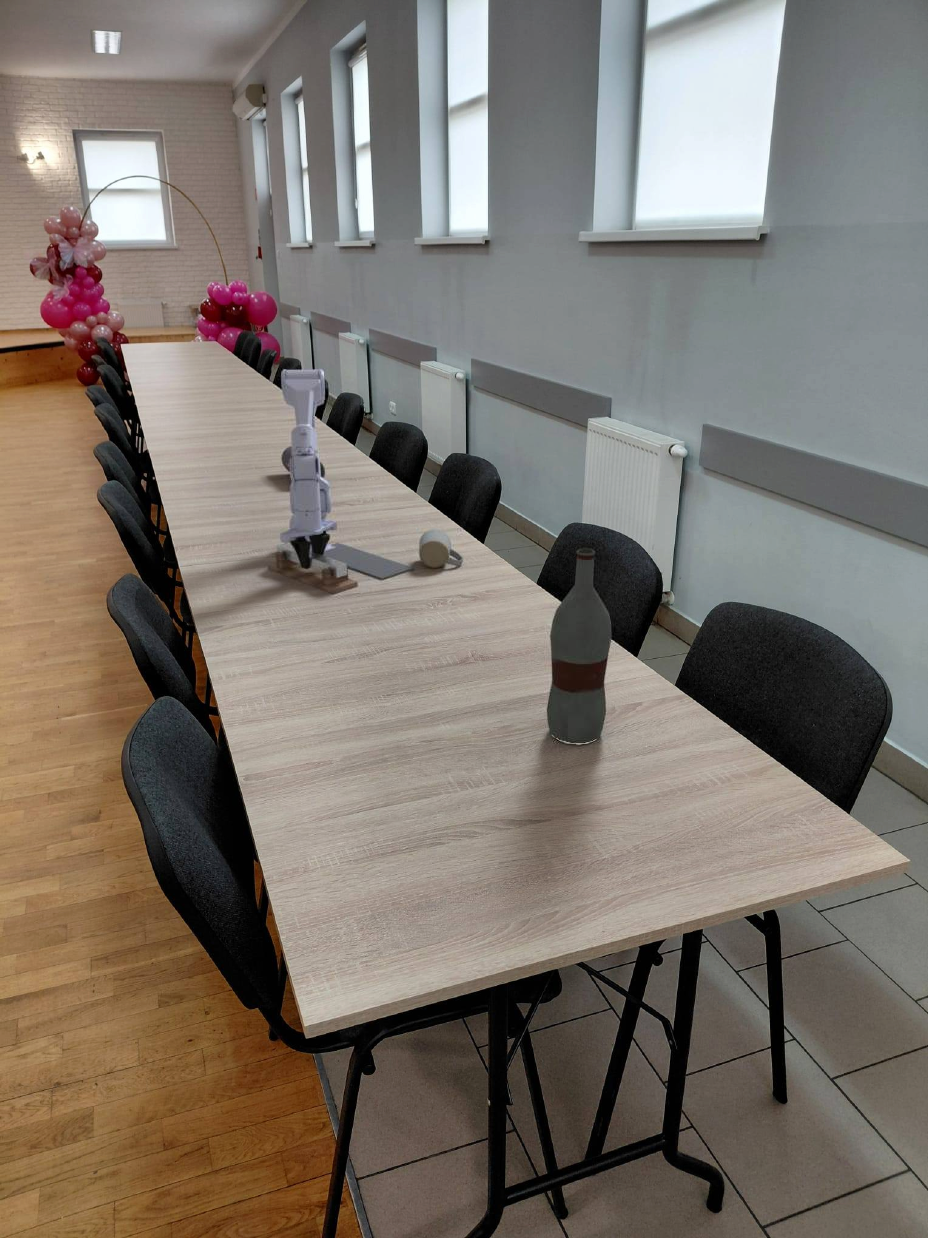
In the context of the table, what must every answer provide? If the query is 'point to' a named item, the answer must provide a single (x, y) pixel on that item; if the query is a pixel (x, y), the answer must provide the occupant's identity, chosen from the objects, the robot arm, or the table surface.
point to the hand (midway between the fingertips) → (311, 566)
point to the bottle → (579, 659)
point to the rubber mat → (366, 562)
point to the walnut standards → (312, 575)
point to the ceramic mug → (437, 549)
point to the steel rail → (315, 560)
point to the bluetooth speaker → (288, 454)
